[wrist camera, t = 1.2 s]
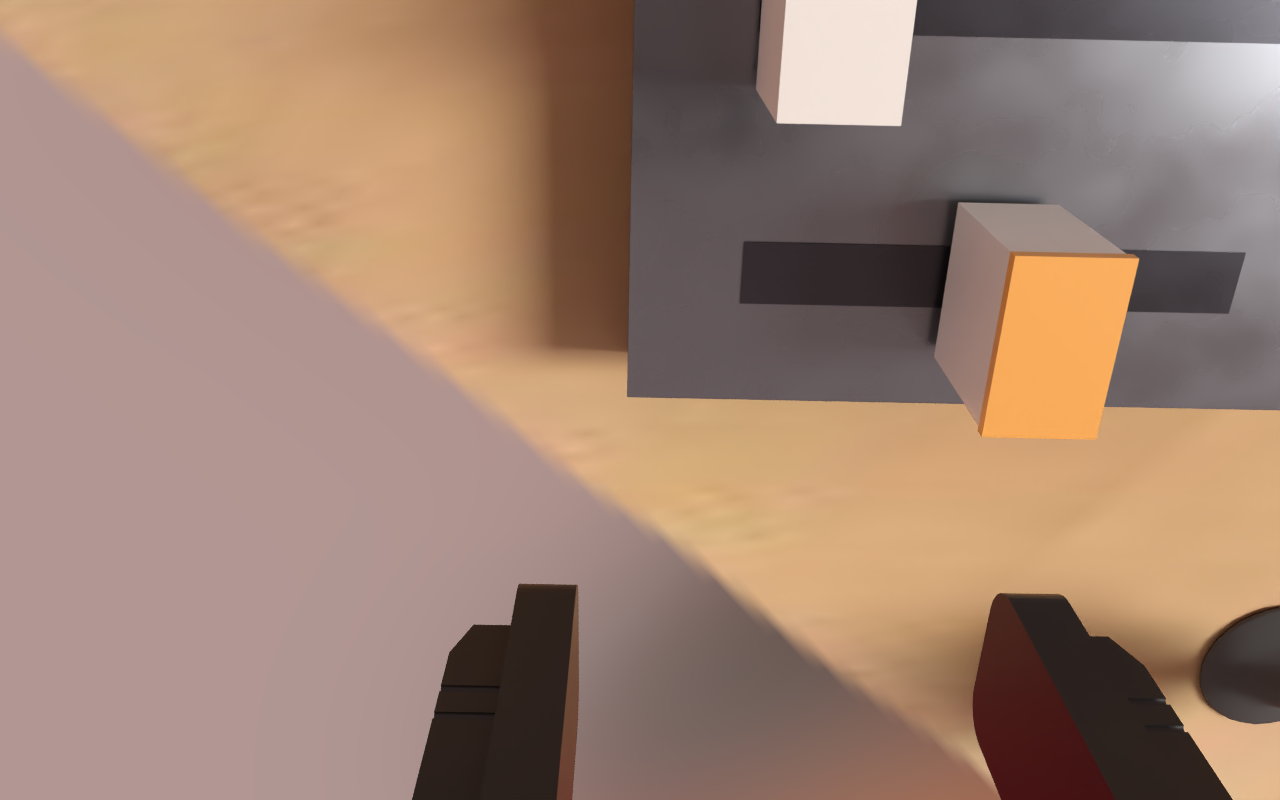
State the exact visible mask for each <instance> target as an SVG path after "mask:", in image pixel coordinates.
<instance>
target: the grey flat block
mask: <svg viewBox="0 0 1280 800" xmlns="http://www.w3.org/2000/svg"><path fill="white" fill-rule="evenodd" d="M761 8H762V0H634V50H633V105H632V160H631V215H630V270H629V325H628V380H627V397H651V398H700V399H750V400H799V401H849V402H898V403H948V404H964V403H963V401H962V400H961V398H960V396H959V395H958V393H957V392H956V390H955V389H954V387H953V386H952V384H951V382H950V381H949V379H948V378H947V376H946V375H945V373H944V372H943V370H942V368H941V367H940V365H939V364H938V362H937V361H936V359H935V357H934V354H935V348H936V341H937V335H938V329H939V322H940V316H941V310H942V303H943V297H944V291H945V284H946V278H947V271H948V265H949V259H950V252H951V246H952V240H953V233H954V227H955V221H956V214H957V208H958V202H963V203H1008V204H1054V205H1060V206H1061V207H1063V208H1064V209H1066V210H1067V211H1068V212H1070V213H1071V214H1072V215H1074V216H1075V217H1077V218H1078V219H1079V220H1081V221H1082V222H1083V223H1085V224H1086V225H1088V226H1089V227H1090V228H1092V229H1093V230H1094V231H1096V232H1097V233H1099V234H1100V235H1101V236H1103V237H1104V238H1106V239H1107V240H1108V241H1110V242H1111V243H1112V244H1114V245H1115V246H1117V247H1118V248H1119V249H1121V250H1122V251H1123V252H1125V253H1126V254H1134V255H1135V256H1137V257H1138V258H1139V263H1138V267H1137V271H1136V275H1135V279H1134V283H1133V288H1132V292H1131V296H1130V300H1129V304H1128V309H1127V313H1126V317H1125V321H1124V325H1123V329H1122V334H1121V338H1120V342H1119V346H1118V350H1117V354H1116V359H1115V363H1114V367H1113V371H1112V375H1111V379H1110V384H1109V388H1108V392H1107V396H1106V400H1105V404H1104V407H1145V408H1195V409H1244V410H1280V0H917V6H916V13H915V21H914V29H913V37H912V45H911V52H910V60H909V68H908V76H907V83H906V91H905V99H904V107H903V114H902V122H901V126H875V125H830V124H785V123H776V121H775V120H774V118H773V117H772V115H771V113H770V112H769V110H768V108H767V107H766V105H765V103H764V102H763V100H762V99H761V97H760V95H759V94H758V92H757V90H756V81H757V67H758V52H759V37H760V23H761Z"/></svg>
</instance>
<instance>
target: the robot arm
mask: <svg viewBox="0 0 1280 800" xmlns="http://www.w3.org/2000/svg"><path fill="white" fill-rule="evenodd" d="M578 646H579V645H578V586H577V585H553V584H519V585H518V589H517V594H516V599H515V605H514V610H513V616H512V622H511V625H473V626H472V627H471V628H470V630H469V631H468V632H467V633H466V634H465V635H464V636H463V638H462V639H461V640H460V641H459V642H458V643H457V645H456V646H455V647H454V648H453V649H452V650H451V651H450V652H449V656H448V660H447V664H446V668H445V672H444V676H443V680H442V684H441V691H440V692H439V695H438V699H437V703H436V708H435V711H434V713H435V714H434V719H432V723H431V727H430V731H429V735H428V739H427V743H426V747H425V751H424V755H423V759H422V763H421V766H420V770H419V774H418V778H417V782H416V786H415V790H414V794H413V798H412V800H572V794H573V781H574V767H575V766H574V765H575V754H576V740H577V724H578V698H579V697H578V695H579V666H578V665H579V660H578V659H579V658H578V657H579V656H578V655H579V650H578ZM1165 700H1166V698H1165V696H1164V695H1163V693H1162V692H1161V690H1160V689H1159V687H1158V686H1157V684H1156V683H1155V681H1154V680H1153V678H1152V677H1151V675H1150V674H1149V672H1148V671H1147V669H1146V668H1145V666H1144V665H1143V664H1142V663H1140V662H1139V661H1138V660H1137V659H1135V658H1134V657H1133V656H1132V655H1130V654H1129V653H1128V652H1127V651H1125V650H1124V649H1123V648H1122V647H1120V646H1119V645H1118V644H1117V643H1115V642H1114V641H1113V640H1112V639H1110V638H1109V637H1091V636H1089V634H1088V633H1087V631H1086V629H1085V628H1084V626H1083V625H1082V623H1081V621H1080V620H1079V618H1078V616H1077V615H1076V613H1075V612H1074V610H1073V608H1072V607H1071V605H1070V603H1069V602H1068V601H1067V599H1066V598H1065V597H1064V596H1062V595H1059V594H1007V593H1000V594H998V595H997V596H996V597H995V598H994V600H993V602H992V605H991V609H990V614H989V618H988V623H987V628H986V633H985V638H984V643H983V648H982V652H981V657H980V662H979V667H978V672H977V677H976V682H975V686H974V693H973V719H974V727H975V732H976V736H977V740H978V743H979V746H980V748H981V751H982V753H983V756H984V758H985V761H986V763H987V766H988V768H989V770H990V773H991V775H992V778H993V780H994V783H995V785H996V788H997V790H998V793H999V795H1000V798H1001V800H1233V799H1232V798H1231V796H1230V795H1229V793H1228V792H1227V790H1226V789H1225V787H1224V786H1223V784H1222V783H1221V781H1220V780H1219V778H1218V777H1217V775H1216V774H1215V772H1214V771H1213V769H1212V768H1211V766H1210V765H1209V763H1208V762H1207V760H1206V759H1205V757H1204V756H1203V754H1202V752H1201V751H1200V749H1199V748H1198V746H1197V745H1196V743H1195V742H1194V740H1193V739H1192V737H1191V736H1190V734H1189V733H1188V732H1184V729H1183V726H1184V725H1183V724H1182V722H1181V721H1180V719H1179V718H1178V716H1177V715H1176V713H1175V712H1174V710H1173V709H1172V707H1171V706H1170V705H1166V701H1165Z"/></svg>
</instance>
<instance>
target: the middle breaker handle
mask: <svg viewBox="0 0 1280 800" xmlns="http://www.w3.org/2000/svg"><path fill="white" fill-rule="evenodd" d="M916 6H917V0H762V8H761V23H760V37H759V52H758V67H757V81H756V90H757V92H758V94H759V95H760V97H761V99H762V100H763V102H764V103H765V105H766V107H767V108H768V110H769V112H770V113H771V115H772V117H773V118H774V120H775V121H776V123H785V124H830V125H875V126H901V122H902V114H903V107H904V99H905V91H906V83H907V76H908V68H909V60H910V52H911V45H912V37H913V29H914V21H915V13H916Z"/></svg>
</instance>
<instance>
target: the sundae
mask: <svg viewBox="0 0 1280 800" xmlns="http://www.w3.org/2000/svg"><path fill="white" fill-rule="evenodd" d="M1200 687H1201V690H1202V692H1203V695H1204V697H1205V699H1206V701H1207V702H1208V704H1209V705H1210V706H1211V707H1212V708H1213V709H1215V710H1216V711H1217V712H1219V713H1220V714H1222V715H1224V716H1225V717H1227V718H1229V719H1232V720H1236V721H1239V722H1244V723H1251V724H1263V723H1272V722H1277V721H1280V608H1277V609H1271V610H1266V611H1264V612H1261V613H1258V614H1255V615H1253V616H1251V617H1249V618H1246V619H1244V620H1242V621H1240V622H1238V623H1237V624H1236V625H1234V626H1233V627H1232V628H1230V629H1229V630H1228V631H1226V632H1225V633H1224V634H1223V635H1222V636H1221V637H1220V638H1219V639H1217V640H1216V642H1215V643H1214V645H1213V646H1212V648H1211V649H1210V651H1209V652H1208V654H1207V656H1206V658H1205V660H1204V662H1203V664H1202V669H1201V675H1200Z"/></svg>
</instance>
